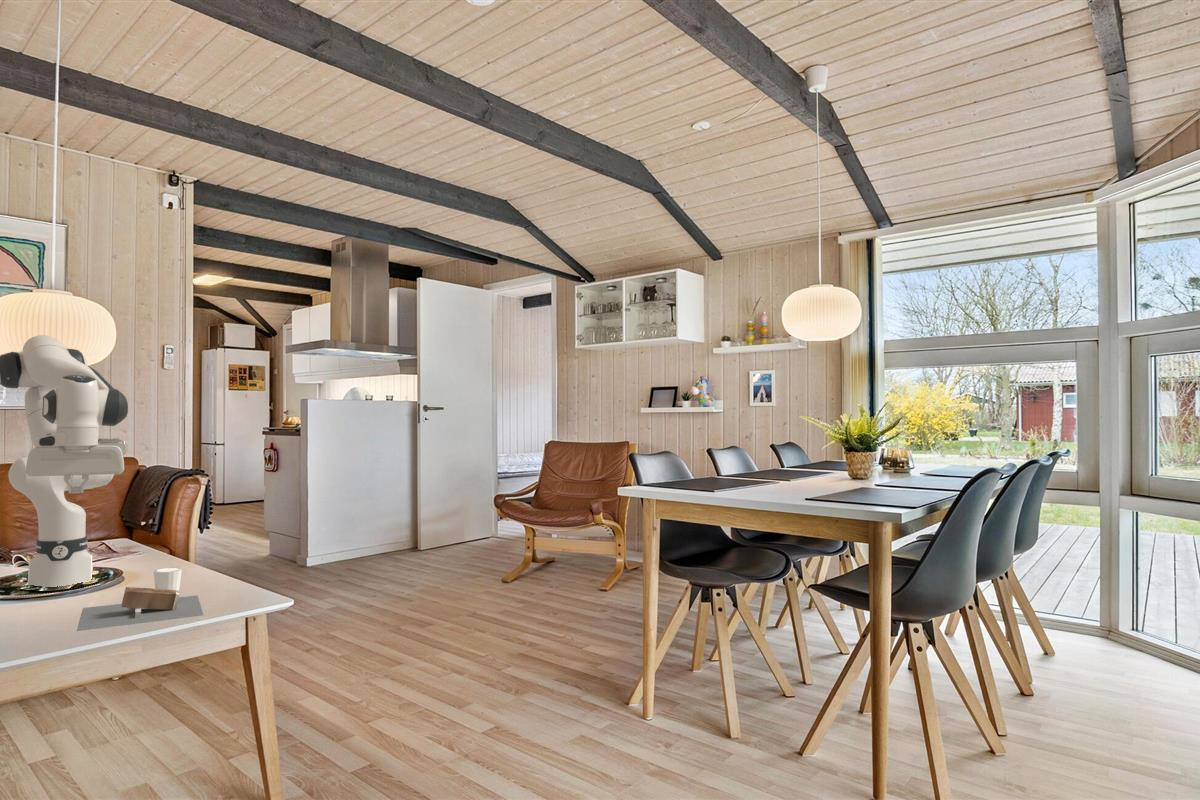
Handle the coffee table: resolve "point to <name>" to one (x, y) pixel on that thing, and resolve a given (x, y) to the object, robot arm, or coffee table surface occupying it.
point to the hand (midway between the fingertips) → (76, 493)
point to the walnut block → (150, 598)
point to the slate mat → (136, 614)
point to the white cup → (167, 578)
